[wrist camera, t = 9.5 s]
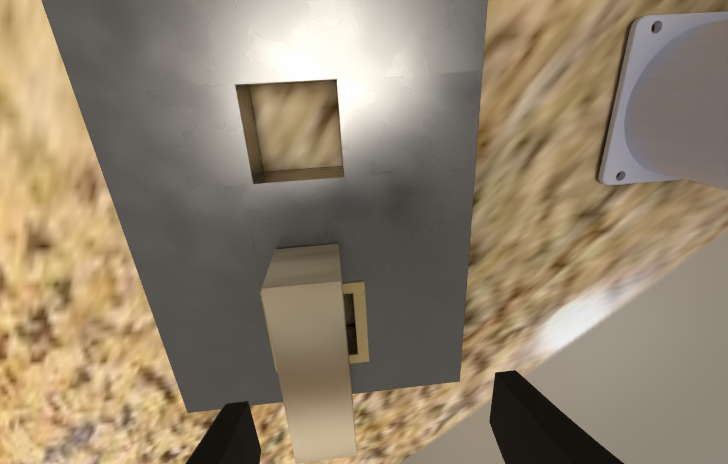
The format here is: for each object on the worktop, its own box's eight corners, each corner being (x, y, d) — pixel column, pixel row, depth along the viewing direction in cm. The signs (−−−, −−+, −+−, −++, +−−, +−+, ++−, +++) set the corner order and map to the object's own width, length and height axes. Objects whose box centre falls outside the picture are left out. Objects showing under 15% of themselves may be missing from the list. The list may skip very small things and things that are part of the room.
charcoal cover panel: (464, -1, 15) (490, -18, 13) (446, 352, 23) (460, 382, 20) (89, 15, 14) (39, -1, 12) (202, 379, 22) (187, 414, 19)
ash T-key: (350, 367, 22) (356, 455, 17) (304, 372, 22) (295, 463, 17) (337, 225, 18) (340, 281, 13) (281, 230, 18) (261, 288, 13)
